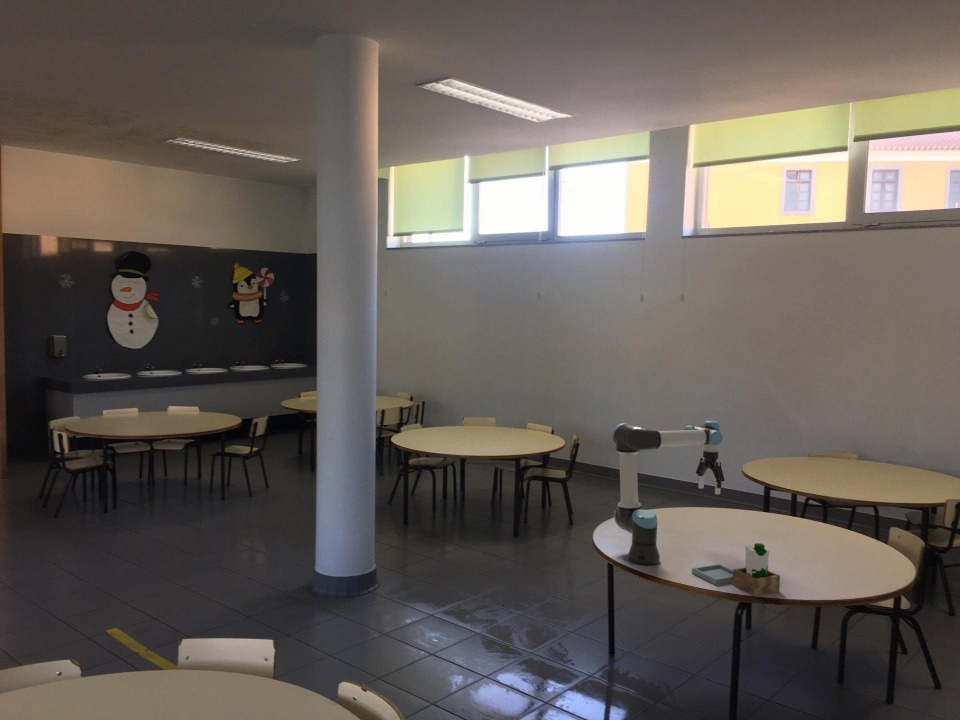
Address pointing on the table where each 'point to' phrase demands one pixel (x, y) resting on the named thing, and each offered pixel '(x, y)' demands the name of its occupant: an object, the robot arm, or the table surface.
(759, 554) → the soya milk
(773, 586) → the holder
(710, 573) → the tray
